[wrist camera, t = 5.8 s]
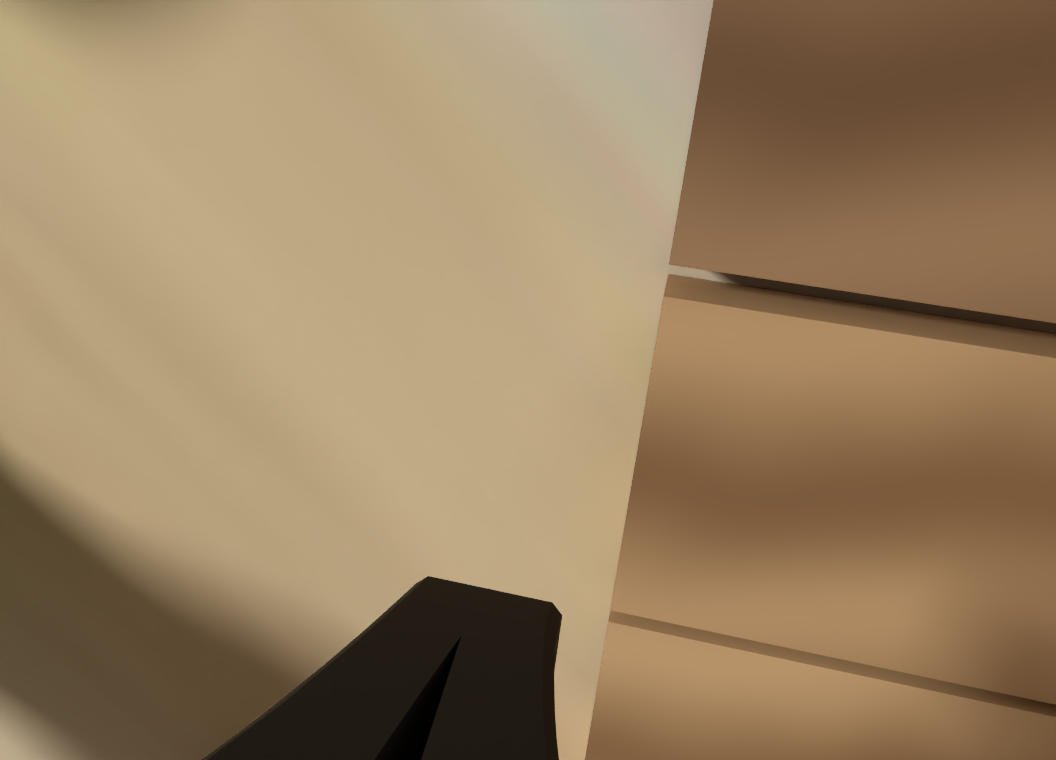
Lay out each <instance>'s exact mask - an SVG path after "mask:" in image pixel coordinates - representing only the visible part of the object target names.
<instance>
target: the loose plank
mask: <svg viewBox="0 0 1056 760" xmlns="http://www.w3.org/2000/svg"><path fill="white" fill-rule="evenodd" d="M669 264H670V265H676V266H683V267H689V268H696V269H702V270H709V271H716V272H722V273H729V274H735V275H742V276H748V277H755V278H762V279H768V280H775V281H781V282H788V283H794V284H801V285H807V286H814V287H821V288H827V289H834V290H840V291H847V292H853V293H860V294H867V295H873V296H880V297H886V298H893V299H899V300H906V301H913V302H919V303H926V304H932V305H939V306H945V307H952V308H958V309H965V310H972V311H978V312H985V313H991V314H998V315H1004V316H1011V317H1018V318H1024V319H1031V320H1037V321H1044V322H1050V323H1056V0H714V2H713V8H712V14H711V20H710V25H709V31H708V37H707V43H706V49H705V55H704V61H703V67H702V73H701V79H700V85H699V90H698V96H697V102H696V108H695V114H694V120H693V126H692V132H691V138H690V144H689V150H688V155H687V161H686V167H685V173H684V179H683V185H682V191H681V197H680V203H679V209H678V215H677V220H676V226H675V232H674V238H673V244H672V250H671V256H670V262H669Z"/></svg>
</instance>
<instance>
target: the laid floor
mask: <svg viewBox="0 0 1056 760" xmlns="http://www.w3.org/2000/svg"><path fill="white" fill-rule="evenodd" d="M585 760H1056V334H1053V333H1047V332H1040V331H1034V330H1027V329H1021V328H1014V327H1008V326H1001V325H995V324H988V323H982V322H975V321H969V320H962V319H956V318H949V317H943V316H936V315H930V314H923V313H917V312H910V311H904V310H897V309H891V308H884V307H878V306H871V305H865V304H858V303H852V302H845V301H839V300H832V299H826V298H819V297H813V296H806V295H800V294H793V293H787V292H780V291H774V290H767V289H761V288H754V287H748V286H741V285H735V284H729V283H722V282H716V281H709V280H703V279H696V278H690V277H683V276H677V275H670V274H668V279H667V283H666V288H665V293H664V297H663V303H662V309H661V315H660V321H659V327H658V333H657V339H656V344H655V350H654V356H653V362H652V368H651V374H650V380H649V386H648V392H647V398H646V403H645V409H644V415H643V421H642V427H641V433H640V439H639V445H638V451H637V457H636V462H635V468H634V474H633V480H632V486H631V492H630V498H629V504H628V510H627V515H626V521H625V527H624V533H623V539H622V545H621V551H620V557H619V563H618V569H617V574H616V580H615V586H614V592H613V598H612V604H611V611H610V616H609V622H608V628H607V633H606V639H605V645H604V651H603V657H602V663H601V669H600V675H599V681H598V687H597V692H596V698H595V704H594V710H593V716H592V722H591V728H590V734H589V740H588V746H587V751H586V757H585Z"/></svg>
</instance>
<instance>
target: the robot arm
mask: <svg viewBox="0 0 1056 760" xmlns="http://www.w3.org/2000/svg"><path fill="white" fill-rule="evenodd" d="M561 620H562V615H561V613H560V612H559V611H558V610H557V608H556V607H555V606H554V604H553V603H552V602H547V601H542V600H538V599H533V598H528V597H523V596H519V595H514V594H509V593H505V592H500V591H495V590H491V589H486V588H481V587H476V586H472V585H467V584H462V583H458V582H453V581H448V580H443V579H439V578H434V577H429V576H428V577H426V578H424V579H423V580H421V581H420V582H418V583H416V584H415V585H414V586H413V587H412V588H411V589H410V590H409V591H408V592H406V593H405V594H404V595H403V596H402V597H401V598H400V599H399V600H398V601H397V602H396V603H394V604H393V605H392V606H391V607H390V608H389V609H388V610H387V611H386V612H384V613H383V614H382V615H381V616H380V617H379V618H378V619H377V620H376V621H374V622H373V623H372V624H371V625H370V626H369V627H368V628H367V629H365V630H364V631H363V632H362V633H361V634H360V635H359V636H357V637H356V638H355V639H354V640H353V641H352V642H350V643H349V644H348V645H347V646H346V647H345V648H344V649H342V650H341V651H340V652H339V653H338V654H337V655H335V656H334V657H333V658H332V659H331V660H330V661H328V662H327V663H326V664H325V665H324V666H322V667H321V668H320V669H319V670H317V671H316V672H315V673H314V674H312V675H311V676H310V677H309V678H308V679H306V680H305V681H304V682H303V683H301V684H300V685H299V686H298V687H296V688H295V689H294V690H293V691H292V692H290V693H289V694H288V695H287V696H285V697H284V698H283V699H282V700H281V701H279V702H278V703H277V704H276V705H274V706H273V707H272V708H271V709H269V710H268V711H267V712H266V713H264V714H263V715H262V716H261V717H259V718H258V719H257V720H255V721H254V722H253V723H251V724H250V725H249V726H248V727H246V728H245V729H243V730H242V731H241V732H239V733H238V734H237V735H235V736H234V737H233V738H231V739H230V740H229V741H227V742H226V743H224V744H223V745H222V746H220V747H219V748H218V749H216V750H215V751H214V752H212V753H211V754H209V755H208V756H207V757H205V758H204V759H203V760H559V757H558V748H557V738H556V724H555V703H554V669H555V662H556V655H557V648H558V641H559V634H560V627H561Z"/></svg>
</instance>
